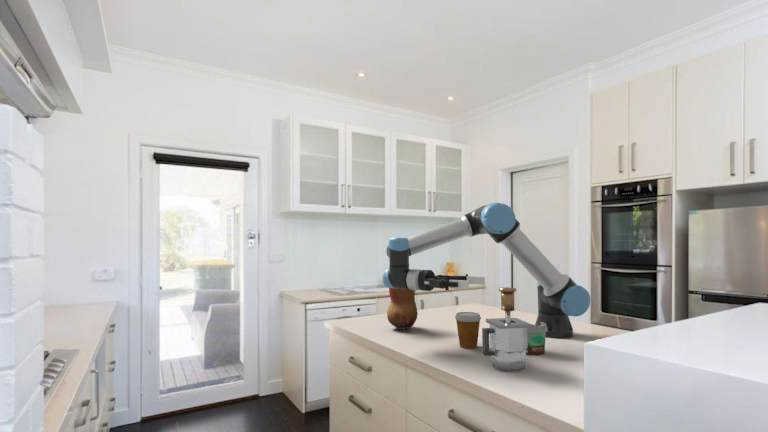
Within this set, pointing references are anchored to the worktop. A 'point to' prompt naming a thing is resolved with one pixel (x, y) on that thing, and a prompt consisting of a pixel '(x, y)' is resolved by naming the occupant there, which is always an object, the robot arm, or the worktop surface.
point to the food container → (536, 339)
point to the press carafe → (506, 344)
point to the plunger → (507, 302)
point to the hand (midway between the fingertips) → (476, 282)
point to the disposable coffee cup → (468, 329)
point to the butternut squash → (402, 308)
